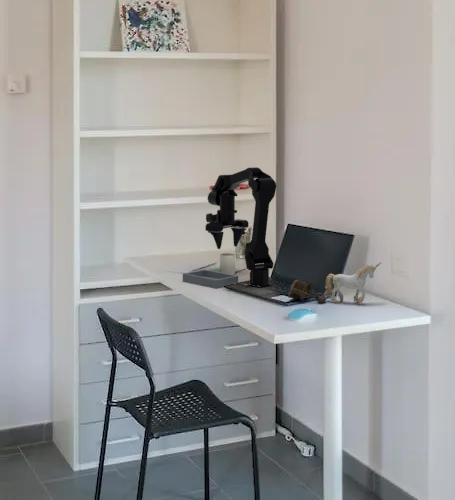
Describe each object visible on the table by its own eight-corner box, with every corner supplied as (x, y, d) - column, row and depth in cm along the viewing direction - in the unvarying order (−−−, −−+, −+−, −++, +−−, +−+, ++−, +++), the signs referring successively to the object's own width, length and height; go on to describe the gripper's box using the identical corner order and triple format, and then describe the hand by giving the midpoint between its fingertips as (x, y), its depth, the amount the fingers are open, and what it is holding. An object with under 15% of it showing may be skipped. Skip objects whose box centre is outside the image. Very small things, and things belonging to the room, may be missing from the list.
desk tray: (238, 283, 327) (238, 275, 327) (216, 288, 319) (216, 280, 319) (204, 277, 339) (204, 269, 339) (182, 281, 331) (182, 273, 331)
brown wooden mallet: (303, 280, 308) (283, 277, 301) (331, 282, 299) (311, 280, 292) (301, 301, 308) (281, 299, 301) (329, 304, 298) (309, 301, 291)
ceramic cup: (238, 274, 344) (238, 254, 343) (227, 277, 340) (227, 256, 339) (227, 272, 348) (227, 252, 347) (216, 274, 344) (216, 254, 343)
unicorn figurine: (383, 305, 294) (384, 266, 292) (324, 305, 294) (325, 265, 292) (380, 300, 301) (381, 262, 299) (322, 300, 301) (323, 261, 299)
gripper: (228, 203, 352) (228, 242, 355) (195, 207, 339) (195, 248, 341) (249, 206, 344) (249, 245, 347) (216, 210, 331) (216, 251, 334)
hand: (227, 247), depth 342 cm, fingers open, 9 cm apart
